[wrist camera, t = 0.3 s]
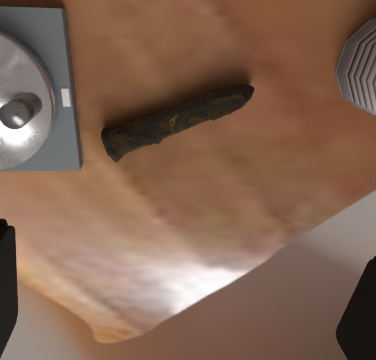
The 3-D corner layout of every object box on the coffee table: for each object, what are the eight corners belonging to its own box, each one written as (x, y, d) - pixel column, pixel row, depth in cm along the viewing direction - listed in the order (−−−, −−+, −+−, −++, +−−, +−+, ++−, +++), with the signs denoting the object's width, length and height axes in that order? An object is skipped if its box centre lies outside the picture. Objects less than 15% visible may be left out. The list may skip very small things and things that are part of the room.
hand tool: (114, 154, 45) (110, 169, 40) (101, 126, 43) (96, 138, 39) (254, 106, 44) (265, 116, 39) (246, 75, 42) (257, 82, 38)
